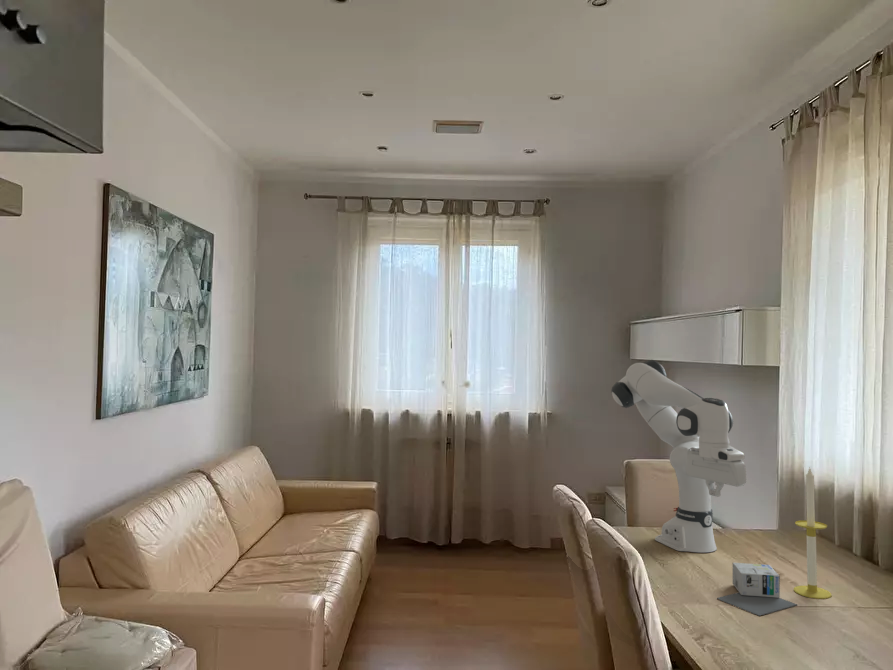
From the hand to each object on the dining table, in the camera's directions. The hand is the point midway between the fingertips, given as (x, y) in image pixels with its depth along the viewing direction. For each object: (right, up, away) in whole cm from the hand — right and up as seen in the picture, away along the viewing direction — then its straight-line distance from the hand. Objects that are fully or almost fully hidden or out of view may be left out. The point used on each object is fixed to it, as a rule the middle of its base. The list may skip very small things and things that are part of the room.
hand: (714, 495), depth 201 cm
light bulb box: (+4, -24, -5) cm, 25 cm away
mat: (+6, -27, -14) cm, 31 cm away
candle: (+26, -27, -7) cm, 39 cm away
